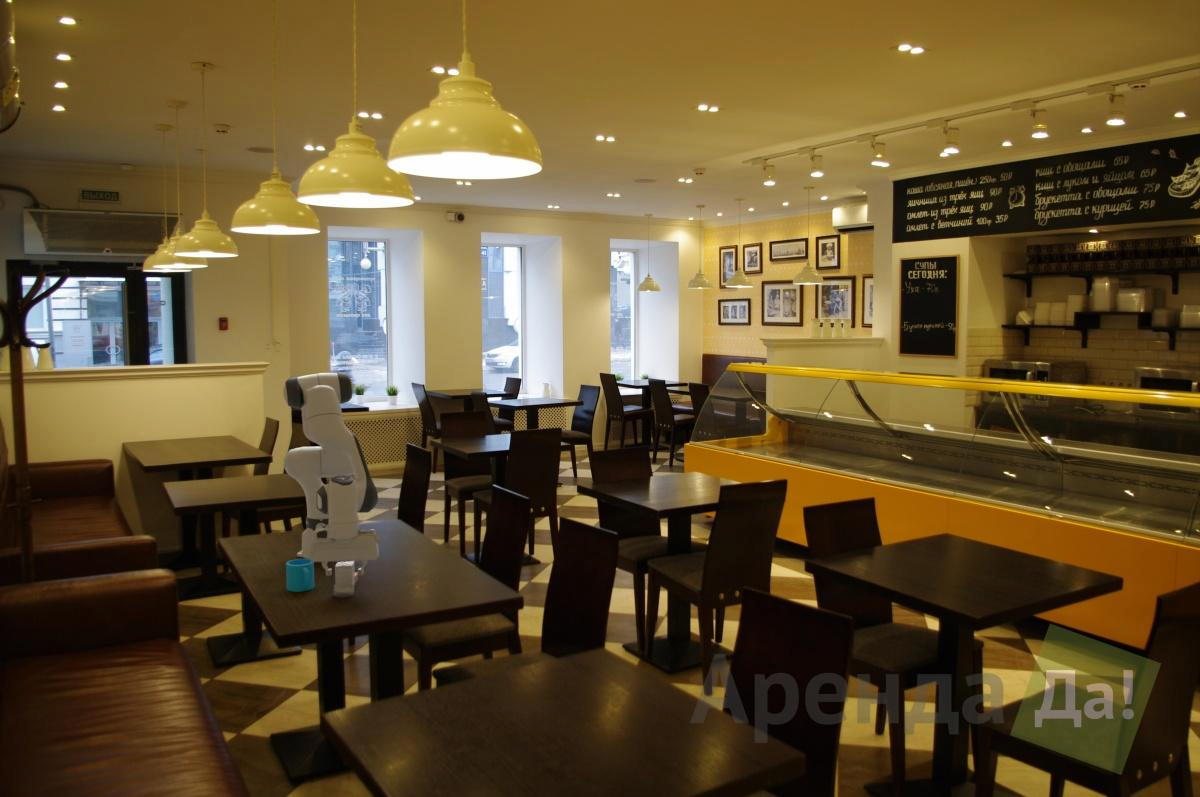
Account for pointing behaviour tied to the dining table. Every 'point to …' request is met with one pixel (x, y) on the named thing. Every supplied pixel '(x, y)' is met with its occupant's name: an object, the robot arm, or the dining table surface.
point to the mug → (300, 575)
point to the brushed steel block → (344, 574)
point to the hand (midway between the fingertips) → (344, 574)
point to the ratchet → (345, 590)
